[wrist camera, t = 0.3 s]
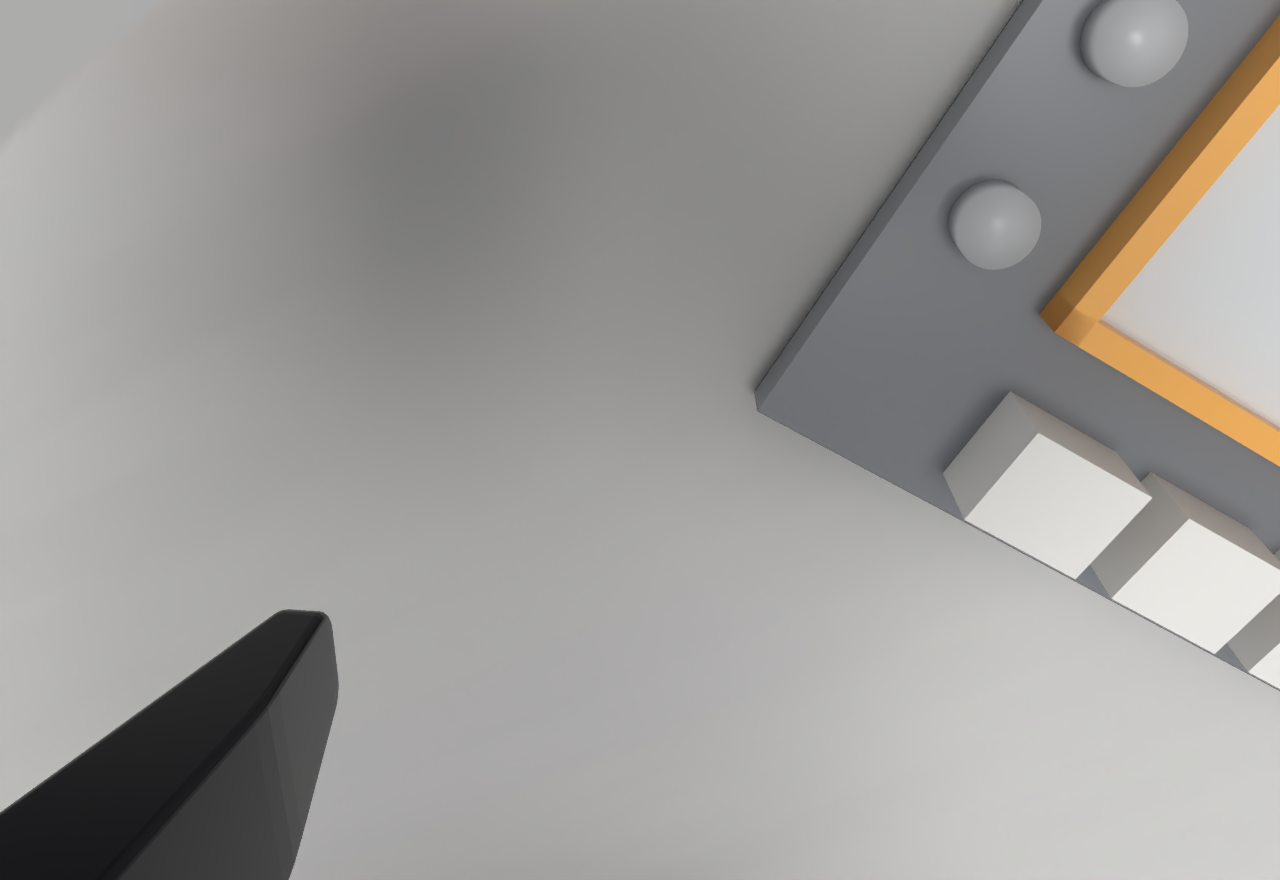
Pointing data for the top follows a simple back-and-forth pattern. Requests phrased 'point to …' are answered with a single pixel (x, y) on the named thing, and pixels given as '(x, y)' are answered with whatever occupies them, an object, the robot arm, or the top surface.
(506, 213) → the top surface
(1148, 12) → the panel
